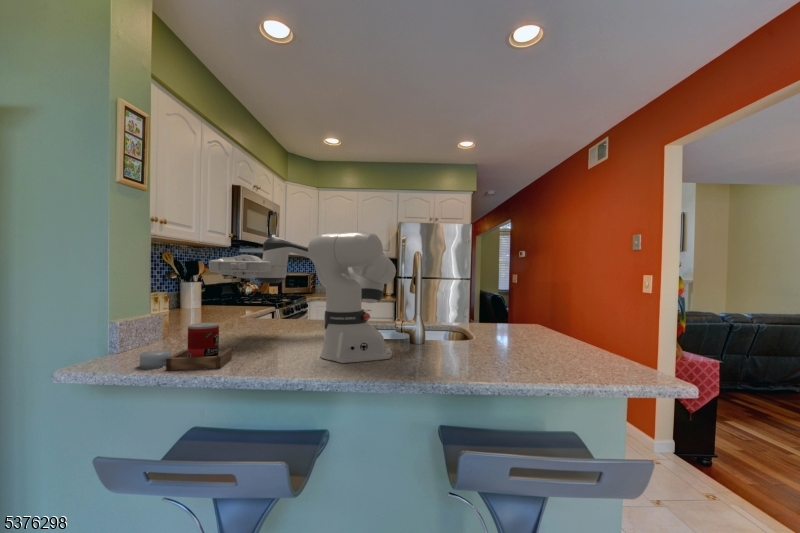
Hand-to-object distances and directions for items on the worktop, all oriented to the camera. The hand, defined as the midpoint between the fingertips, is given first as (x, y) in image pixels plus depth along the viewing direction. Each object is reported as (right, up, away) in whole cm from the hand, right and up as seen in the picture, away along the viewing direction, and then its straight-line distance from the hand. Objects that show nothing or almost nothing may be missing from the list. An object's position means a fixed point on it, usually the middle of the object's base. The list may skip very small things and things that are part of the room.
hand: (235, 266), depth 116 cm
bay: (-1, -28, -17) cm, 33 cm away
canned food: (-1, -28, -16) cm, 33 cm away
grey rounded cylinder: (-13, -28, -19) cm, 36 cm away
